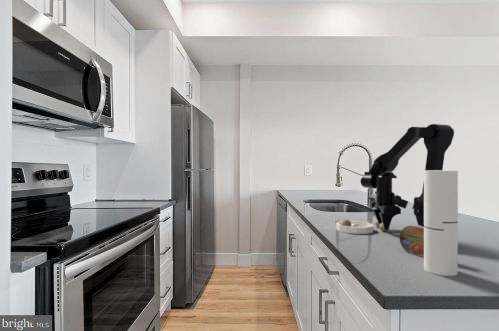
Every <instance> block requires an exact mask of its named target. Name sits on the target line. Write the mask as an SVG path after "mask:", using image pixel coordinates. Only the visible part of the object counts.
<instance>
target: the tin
mask: <svg viewBox="0 0 499 331" xmlns="http://www.w3.org/2000/svg"><path fill="white" fill-rule="evenodd" d="M399 243H400V245H401V247H402V249H403V250H404V251H405V252H406V253H408V254H410V255H413V256H417V257H419V258H420V257H421V258H423V259H424V227H422V226H419V225H407V226H405V227H404V228H402V230H401V232H400V234H399Z"/></svg>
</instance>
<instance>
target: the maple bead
mask: <svg viewBox="0 0 499 331" xmlns="http://www.w3.org/2000/svg"><path fill="white" fill-rule="evenodd" d="M374 225H375V226H376V227H379V223H378V221H377V219H375V220H374Z"/></svg>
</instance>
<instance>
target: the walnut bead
mask: <svg viewBox="0 0 499 331" xmlns="http://www.w3.org/2000/svg"><path fill="white" fill-rule="evenodd" d="M342 221H343V222H342V225H343V226H349V227H351V222H350V221H351V220H348V219H344V220H342Z"/></svg>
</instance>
